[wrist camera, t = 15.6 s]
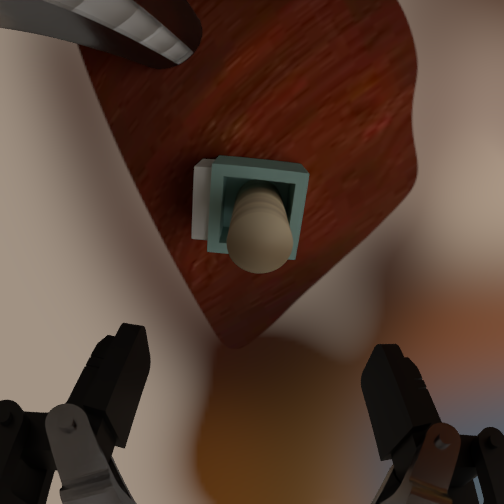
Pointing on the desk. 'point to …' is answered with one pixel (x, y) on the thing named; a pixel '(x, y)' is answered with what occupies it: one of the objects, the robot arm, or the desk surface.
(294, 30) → the desk surface
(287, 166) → the grey-green open box
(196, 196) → the grey flat slab
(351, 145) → the desk surface
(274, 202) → the dowel
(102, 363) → the robot arm
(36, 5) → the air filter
